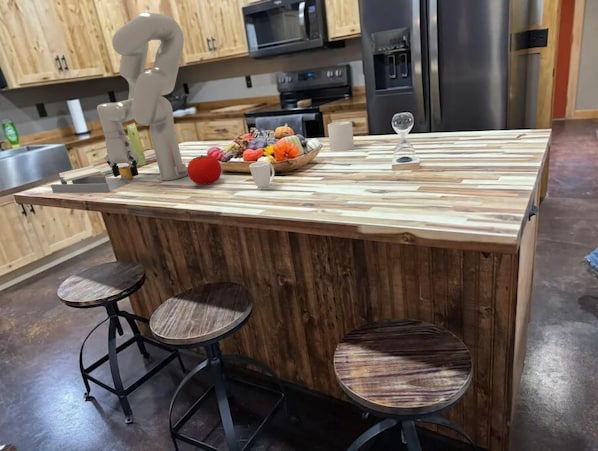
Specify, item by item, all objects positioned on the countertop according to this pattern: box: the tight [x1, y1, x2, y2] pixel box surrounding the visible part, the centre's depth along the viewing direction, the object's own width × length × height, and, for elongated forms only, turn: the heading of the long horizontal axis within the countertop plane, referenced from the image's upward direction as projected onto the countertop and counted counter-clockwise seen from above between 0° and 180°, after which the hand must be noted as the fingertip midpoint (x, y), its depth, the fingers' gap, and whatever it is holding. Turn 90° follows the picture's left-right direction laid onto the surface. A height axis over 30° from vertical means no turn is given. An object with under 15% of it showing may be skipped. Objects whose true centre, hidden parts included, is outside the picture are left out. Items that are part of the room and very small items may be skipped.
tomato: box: [187, 154, 222, 185], centre depth 152 cm, size 11×12×10 cm
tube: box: [126, 122, 148, 167], centre depth 200 cm, size 6×5×20 cm
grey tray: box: [50, 176, 143, 194], centre depth 173 cm, size 30×20×4 cm, turn 68°
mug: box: [327, 120, 355, 152], centre depth 180 cm, size 14×10×11 cm
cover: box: [58, 164, 102, 184], centre depth 178 cm, size 15×11×5 cm
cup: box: [248, 160, 275, 191], centre depth 139 cm, size 7×10×8 cm
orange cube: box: [119, 166, 133, 181], centre depth 176 cm, size 5×5×5 cm
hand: (126, 175), depth 176 cm, fingers open, 9 cm apart
